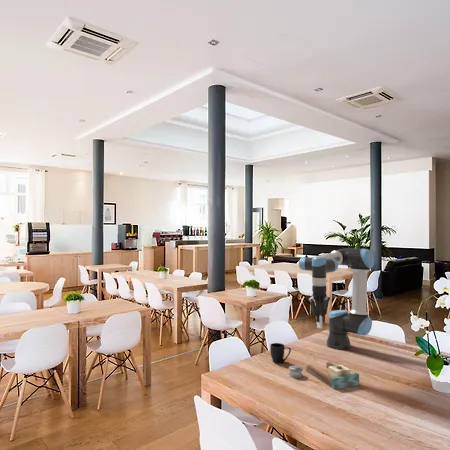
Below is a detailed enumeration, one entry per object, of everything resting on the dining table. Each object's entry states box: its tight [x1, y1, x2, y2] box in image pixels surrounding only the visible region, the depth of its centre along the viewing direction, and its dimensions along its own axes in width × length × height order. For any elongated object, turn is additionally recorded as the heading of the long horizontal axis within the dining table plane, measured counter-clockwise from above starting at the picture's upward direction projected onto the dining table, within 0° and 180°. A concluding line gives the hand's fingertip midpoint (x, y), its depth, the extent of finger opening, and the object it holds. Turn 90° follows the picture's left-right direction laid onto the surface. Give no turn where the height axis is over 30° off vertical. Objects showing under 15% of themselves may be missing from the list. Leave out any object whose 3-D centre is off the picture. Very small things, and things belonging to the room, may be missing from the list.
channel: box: [305, 361, 360, 390], centre depth 190 cm, size 15×24×5 cm, turn 20°
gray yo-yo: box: [288, 365, 304, 379], centre depth 193 cm, size 7×7×4 cm
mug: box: [269, 342, 292, 364], centre depth 213 cm, size 8×12×10 cm
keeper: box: [327, 364, 351, 378], centre depth 184 cm, size 8×7×8 cm
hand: (319, 327), depth 201 cm, fingers closed
